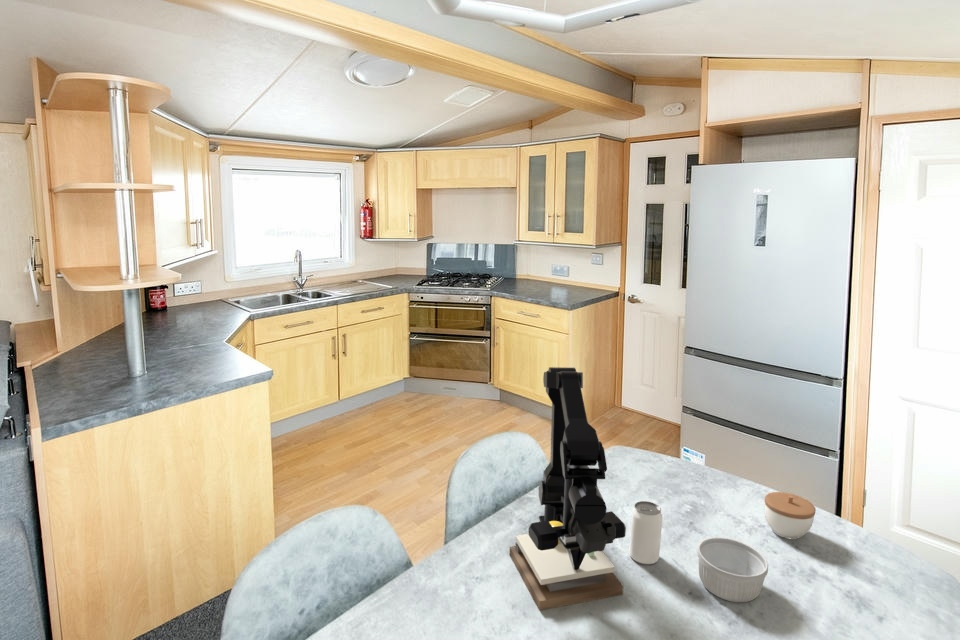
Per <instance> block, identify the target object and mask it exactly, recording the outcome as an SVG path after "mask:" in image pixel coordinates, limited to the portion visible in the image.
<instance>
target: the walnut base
mask: <svg viewBox="0 0 960 640" xmlns="http://www.w3.org/2000/svg"><path fill="white" fill-rule="evenodd" d="M508 554H509V556H510V558H511V560H512V563H513V564H514V566H515V568H516V569H517V571H518V574H519V575H520V577H521V579H522V581H523V583H524V585H525V586H526V589H527V591H528V592H529V594H530V596H531V598H532V599H533V601H534V603H535V605H536V607H537V609H538V611H542V610H548V609H554V608H559V607H564V606H568V605H569V606H570V605H574V604H579V603H584V602H590V601H595V600H601V599H606V598H612V597H617V596H621V595H623V594H624V593H623V592H624V585H623V583H622V582H621V581H620V580H619V578H618V577H617V575H615V572H611V573H606V574H600V575H595V576H589V577H583V578H578V579H572V580H566V581H561V582H555V583H550V584H544V585H541V584H540V582H539V581H538V579H537V577H536V575H535V574H534V572H533V570H532V568H531V567H530V565H529V563H528V561H527V560H526V558H525V556H524V554H523V553H522V551H521V549H520V547H519V546H518V544H517V542H516V541H515V545H512V546H509V553H508Z"/></svg>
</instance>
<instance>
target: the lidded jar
mask: <svg viewBox="0 0 960 640" xmlns="http://www.w3.org/2000/svg"><path fill="white" fill-rule="evenodd" d="M763 507H764V508H763V510H764V511H763V512H764V513H763V514H764V518H765V521H766V523H767V525H768V526H769V528H770V529H771V531H772V530H773V531H772V532H773V534H775V533H776V534H775V535H777V534H778V535H779V537H780V536H782V537H781V538H783V537H785V538H784V539H786V538H791V539H790V540H796V539H795V538H798V537H799V538H800V537H803V536H805V535H806V534H808V532H810V530H811V528H812V527H813V523H814V520H815V515H816V512H817V511H816V510H817V509H816V507H815V505H814V504H813V503H812V502H810V500H807V499H806V498H804V497H802V496H800V495H796V494H794V493H789V492H783V491H773V492H769V493H767V494H766V495H764V506H763ZM778 535H777V536H778ZM799 538H798V539H799Z"/></svg>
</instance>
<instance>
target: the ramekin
mask: <svg viewBox="0 0 960 640" xmlns="http://www.w3.org/2000/svg"><path fill="white" fill-rule="evenodd" d="M697 557H698V575H699V576H698V577H699V579H700V582H701V583H702V585H703V586H704V587H705V588H706V589H707V591H709V592H710V593H711V594H713V595H714V596H716V597H718V598H720V599H722V600H724V601H728V602H734V603H749V602H751V601H753V600H755V599H756V598H758V597H759V595H760V593H761V591H762V589H763V585H764V582H765V578H766V577H767V575H768V571H769V563H768V561H767V559H766V557H765V556H764V555H763V554H762V553H761V552H760V551H758V550H757V549H756V548H754V547H752V546H751V545H749V544H746V542H745V543H744V542H742V541H739V540H736V539H733V538H728V537H727V538H726V537H710V538H705V539H703V540H702V541H701V542H700V543H699V544H698V547H697Z"/></svg>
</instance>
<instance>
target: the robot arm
mask: <svg viewBox="0 0 960 640" xmlns="http://www.w3.org/2000/svg"><path fill="white" fill-rule="evenodd" d="M583 374H584V373H583V371H581V372H579V371H577V370H576V367H559V366H557V367H553V366H552V367H548V370H547V371H544V372H543V378H542V379H543V380H542V381H543V387H544V388H545V393H546V395H547V396H548V398H549V400H550V402H551V424H550V425H551V430H550V431H551V433H550V435H551V436H550V462H549V463H548V464H547V466H546V467H545V469H544V470H543V474H542V475H543V477H542V480H541V481H540V483H539V486H538V498H539V502H540V506H544V513H543V515H539V516H538V519H539V521H538V522H531V523H530V525H529V526H528V534H529V536H530V538H531V539H532V541H533V543H534V544H535V546H536V547H537V549H538V550H549V549H554V548H555V547H556V546H557V545H558V540H559V541H560V542H561V544H562V545H563V546H564V548H566V550H567V553H568V555H569V558H570V561H571V564H572V566H573V568H574V570H578V569H579V567H580V565H581V563H582V561H583V559H584V557H585V554H586V553H591V552H595V551H603V552H604V550H605V549H606V548H605V547H606V545H607V544H613V543H614V541H615V540H616V539H621V538H622V539H623V538H625V537H626V534H627V533H626V532H627V528H626V527H627V526H626V524H625V522H624V521H622V520H621V519H620V518H619V517H618V515H617V514H616V513H614V511H607V509H608V508H607V505H606V501H605V499H604V497H603V496H602V493H601V491H600V489H599V487H598V480H606V472H607V470H608V466H607V458H606V452H605V447H604V446H603V443H602V441H599V440H600V439H599V437H598V433H597V430H596V429H595V428H594V427H593V426H592V425H591V424H590V423H589V422H588V418H587V417H588V416H587V413H586V408H585V402H584V397H583V392H582V389H584V388H583V387H584V377H583V376H584V375H583ZM589 466H590V467H591V466H592V467H593V468H592V467H591V468H590V467H589ZM596 466H597V467H598V468H596ZM594 467H595V468H594ZM550 521H558V522H561V523H563V526H556V527H552V526H551V524H550V523H549V522H550Z"/></svg>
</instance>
